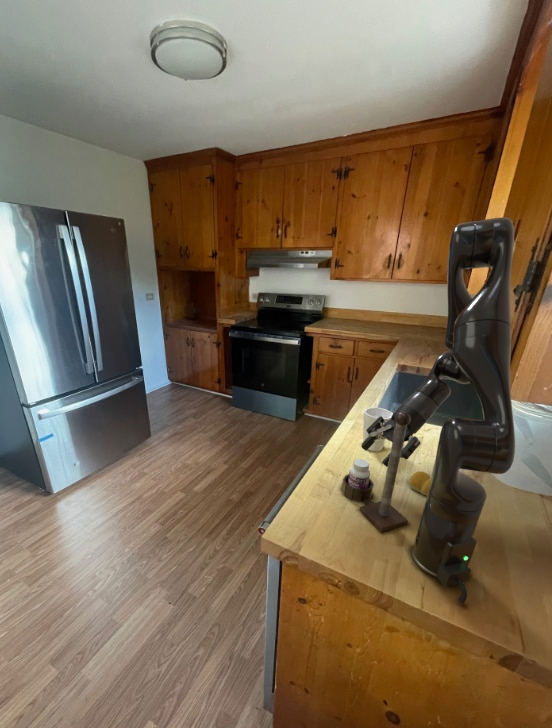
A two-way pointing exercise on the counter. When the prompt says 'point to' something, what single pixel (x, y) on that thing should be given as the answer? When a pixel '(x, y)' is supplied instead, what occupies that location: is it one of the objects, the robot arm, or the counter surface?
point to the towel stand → (382, 511)
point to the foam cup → (369, 418)
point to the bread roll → (420, 482)
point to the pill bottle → (359, 474)
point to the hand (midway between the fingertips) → (373, 456)
